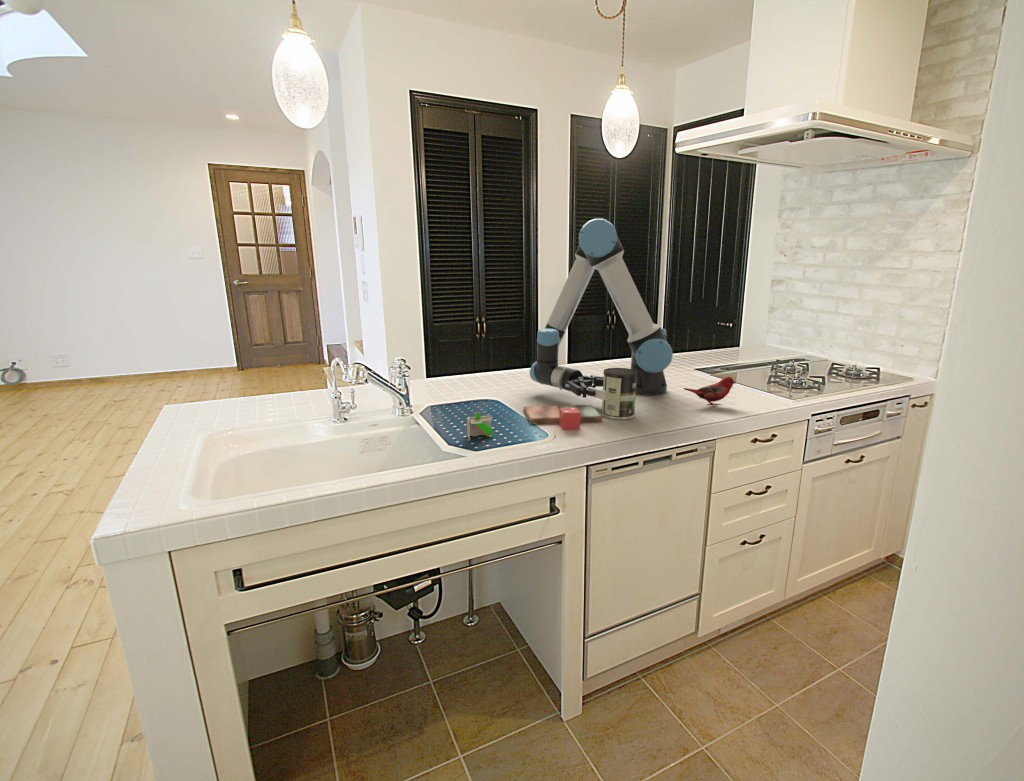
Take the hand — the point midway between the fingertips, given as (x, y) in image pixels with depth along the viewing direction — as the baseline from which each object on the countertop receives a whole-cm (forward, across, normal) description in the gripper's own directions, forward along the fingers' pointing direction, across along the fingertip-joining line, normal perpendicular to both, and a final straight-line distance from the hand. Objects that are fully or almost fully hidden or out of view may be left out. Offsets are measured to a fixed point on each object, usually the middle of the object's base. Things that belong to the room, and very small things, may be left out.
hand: (618, 391), depth 163 cm
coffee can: (0, 0, -8) cm, 8 cm away
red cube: (-2, +20, -8) cm, 21 cm away
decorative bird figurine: (+14, -31, -8) cm, 35 cm away
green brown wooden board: (-10, +14, -8) cm, 19 cm away
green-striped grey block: (-13, +45, -8) cm, 47 cm away
